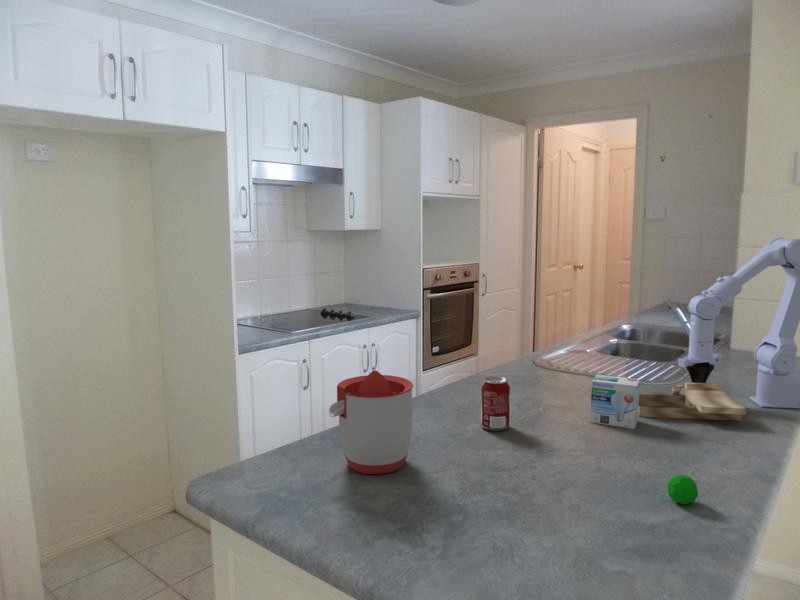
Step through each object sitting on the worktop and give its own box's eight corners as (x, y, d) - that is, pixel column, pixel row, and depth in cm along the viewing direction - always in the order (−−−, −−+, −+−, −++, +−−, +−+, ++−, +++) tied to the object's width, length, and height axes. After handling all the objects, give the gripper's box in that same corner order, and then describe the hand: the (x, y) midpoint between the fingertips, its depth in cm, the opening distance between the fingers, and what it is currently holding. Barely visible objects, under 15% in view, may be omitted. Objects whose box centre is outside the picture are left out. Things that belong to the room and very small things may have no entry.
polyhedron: (661, 502, 104) (663, 477, 104) (672, 492, 108) (673, 468, 107) (691, 512, 101) (693, 485, 100) (701, 501, 104) (703, 476, 103)
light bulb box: (589, 422, 144) (590, 380, 143) (593, 414, 150) (595, 373, 149) (635, 429, 139) (637, 385, 138) (638, 420, 145) (640, 378, 144)
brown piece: (713, 397, 163) (714, 386, 163) (741, 420, 144) (742, 408, 144) (623, 393, 167) (623, 383, 167) (639, 416, 148) (639, 404, 148)
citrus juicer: (322, 456, 126) (319, 365, 123) (398, 444, 132) (397, 358, 129) (341, 487, 111) (338, 385, 108) (425, 472, 117) (425, 375, 114)
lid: (720, 394, 155) (721, 383, 155) (745, 414, 140) (746, 402, 139) (680, 393, 157) (681, 382, 157) (700, 412, 141) (701, 400, 141)
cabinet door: (682, 405, 148) (683, 390, 148) (685, 407, 146) (685, 392, 146) (636, 403, 150) (637, 388, 150) (638, 405, 148) (639, 391, 148)
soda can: (508, 433, 138) (509, 384, 136) (480, 431, 139) (480, 382, 138) (509, 423, 144) (510, 376, 143) (481, 421, 146) (482, 375, 144)
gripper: (695, 346, 150) (692, 397, 152) (733, 340, 156) (729, 390, 158) (672, 341, 156) (669, 390, 158) (709, 336, 162) (706, 383, 164)
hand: (698, 390), depth 158 cm, fingers closed
